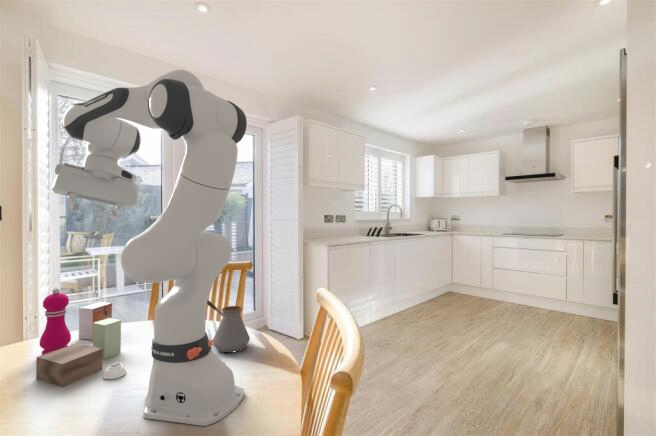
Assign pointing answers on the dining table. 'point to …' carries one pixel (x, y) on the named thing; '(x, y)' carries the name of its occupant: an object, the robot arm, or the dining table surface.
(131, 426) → the dining table surface
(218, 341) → the coffee pot
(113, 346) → the sage block
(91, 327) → the small box
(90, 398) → the dining table surface
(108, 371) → the white hollow cone
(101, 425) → the dining table surface
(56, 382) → the walnut block
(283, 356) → the dining table surface
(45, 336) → the pepper mill
